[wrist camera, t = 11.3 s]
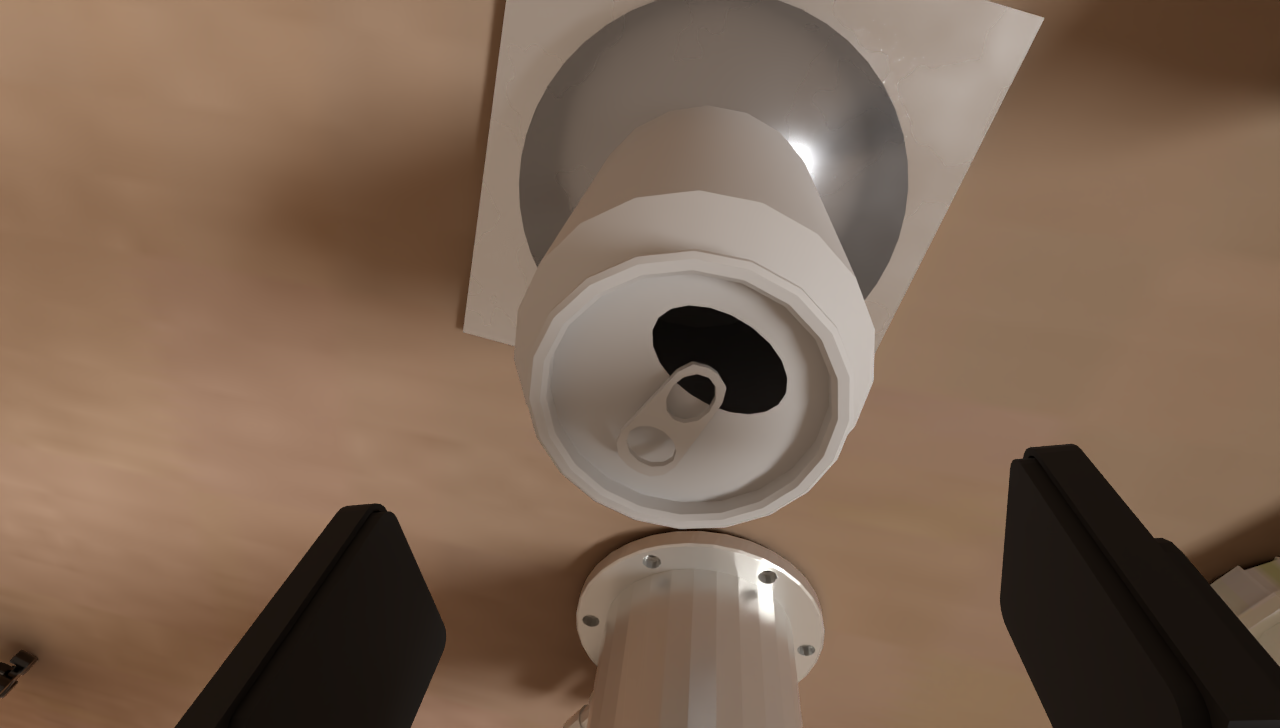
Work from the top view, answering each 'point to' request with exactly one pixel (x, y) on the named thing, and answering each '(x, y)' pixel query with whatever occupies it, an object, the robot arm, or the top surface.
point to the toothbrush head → (1255, 601)
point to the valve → (14, 671)
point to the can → (696, 328)
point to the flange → (755, 84)
